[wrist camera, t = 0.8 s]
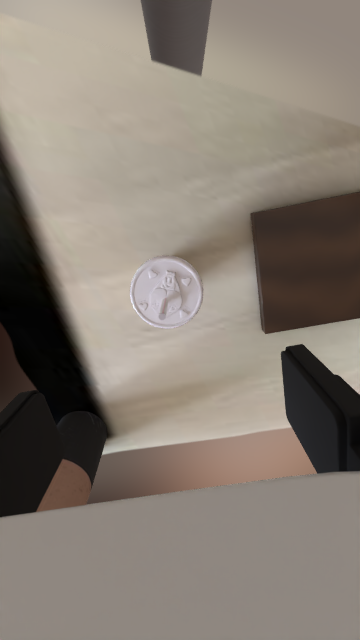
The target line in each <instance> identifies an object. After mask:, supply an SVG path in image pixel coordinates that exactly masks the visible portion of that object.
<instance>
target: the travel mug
mask: <svg viewBox="0 0 360 640" xmlns="http://www.w3.org/2000/svg"><path fill="white" fill-rule="evenodd" d="M56 427H57V429H58V431H59V434H60V436H61V439H62V441H63V444H64V446H65V455H64V458H63V459H62V461H61V463H60V465H59V467H58V469H57V471H56V473H55V475H54V477H53V479H52V481H51V483H50V485H49V487H48V489H47V491H46V493H45V495H44V497H43V499H42V501H41V503H40V505H39V507H38V509H37V511H36V512H40V511H47V510H54V509H61V508H67V507H74V506H81V505H86V503H87V500H88V497H89V494H90V491H91V488H92V485H93V482H94V478H95V475H96V471H97V468H98V465H99V462H100V458H101V455H102V452H103V448H104V445H105V441H106V437H107V429H106V426H105V424H104V422H103V421H102V420H101V419H100V418H99V417H98V416H96V415H95V414H92V413H90V412H86V411H75V412H71V413H69V414H67V415H65V416H64V417H63V418H62V419H61V421H60V422H59V423H58V425H57V426H56Z"/></svg>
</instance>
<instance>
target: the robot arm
mask: <svg viewBox="0 0 360 640" xmlns="http://www.w3.org/2000/svg"><path fill="white" fill-rule="evenodd" d="M281 360H282V372H283V384H284V396H285V408H286V415H287V418H288V421H289V423H290V425H291V426H292V428H293V430H294V432H295V434H296V435H297V437H298V439H299V441H300V443H301V444H302V446H303V448H304V450H305V452H306V454H307V455H308V457H309V459H310V461H311V463H312V464H313V466H314V468H315V470H316V472H317V474H310V475H300V476H290V477H282V478H275V479H268V480H260V481H253V482H246V483H238V484H232V485H224V486H216V487H210V488H202V489H195V490H187V491H180V492H173V493H166V494H158V495H152V496H144V497H137V498H131V499H123V500H116V501H110V502H102V503H96V504H88V505H81V506H74V507H67V508H61V509H54V510H47V511H40V512H36V511H37V509H38V507H39V505H40V503H41V501H42V499H43V497H44V495H45V493H46V491H47V489H48V487H49V485H50V483H51V481H52V479H53V477H54V475H55V473H56V471H57V469H58V467H59V465H60V463H61V461H62V459H63V458H64V455H65V446H64V444H63V441H62V439H61V436H60V434H59V431H58V429H57V427H56V424H55V422H54V419H53V417H52V414H51V412H50V410H49V407H48V405H47V402H46V400H45V397H44V395H43V394H42V393H39V392H38V391H36V390H33V391H27V392H22V393H19V394H18V395H17V396H16V397H15V398H14V399H13V400H12V401H11V402H10V403H9V404H8V405H7V406H6V408H5V409H4V410H3V411H2V412H1V413H0V640H360V395H359V394H358V393H357V392H356V391H355V390H354V389H353V388H352V387H351V386H350V385H349V384H347V383H346V382H345V381H344V380H343V379H342V378H341V377H340V376H338V375H334V374H333V373H332V372H331V371H330V370H329V369H328V368H327V367H326V366H325V365H324V364H323V363H322V362H321V361H319V360H318V359H317V358H316V357H315V356H314V355H313V354H312V353H311V352H310V351H309V350H308V349H307V348H306V347H305V346H304V345H303V344H300V345H294V346H288V347H286V350H285V351H282V352H281Z"/></svg>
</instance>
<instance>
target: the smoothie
mask: <svg viewBox="0 0 360 640" xmlns="http://www.w3.org/2000/svg"><path fill="white" fill-rule="evenodd" d="M130 298H131V302H132V305H133V307H134V309H135V311H136V313H137V314H138V315H139V316H140V317H141V318H142V319H143V320H144V321H145V322H147V323H149V324H150V325H153V326H155V327H159V328H176V327H179V326H182V325H184V324H186V323H187V322H189V321H190V320H191V319H192V318H193V317H194V316H195V315H196V314H197V312H198V311H199V309H200V307H201V304H202V300H203V285H202V280H201V278H200V276H199V274H198V272H197V271H196V269H195V268H194V267H193V266H192V265H191V264H190V263H188V262H187V261H185V260H184V259H182V258H179V257H176V256H169V255H162V256H157V257H154V258H152V259H150V260H148V261H146V262H145V263H144V264H142V265H141V266H140V267H139V268H138V270H137V271H136V273H135V275H134V277H133V279H132V282H131V287H130Z"/></svg>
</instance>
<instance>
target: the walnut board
mask: <svg viewBox="0 0 360 640" xmlns="http://www.w3.org/2000/svg"><path fill="white" fill-rule="evenodd" d="M251 222H252V232H253V242H254V253H255V263H256V273H257V283H258V294H259V304H260V314H261V325H262V330H263V332H264V333H265V334H269V333H275V332H280V331H286V330H292V329H298V328H304V327H310V326H316V325H322V324H327V323H333V322H339V321H345V320H351V319H357V318H360V192H356V193H351V194H346V195H341V196H336V197H331V198H326V199H321V200H316V201H311V202H306V203H301V204H296V205H291V206H286V207H281V208H276V209H271V210H266V211H261V212H255V213H251Z"/></svg>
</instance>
